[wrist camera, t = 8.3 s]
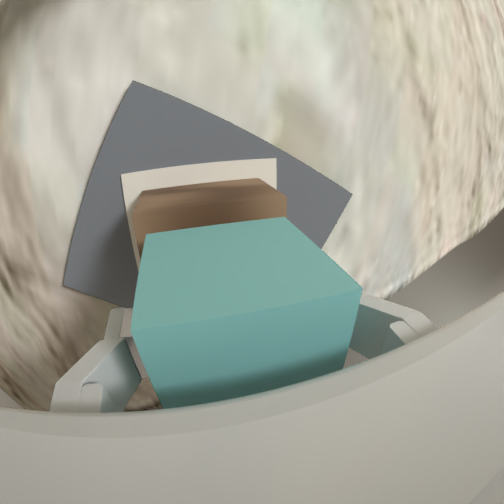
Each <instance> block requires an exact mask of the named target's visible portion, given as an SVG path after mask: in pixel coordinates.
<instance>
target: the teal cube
mask: <svg viewBox="0 0 504 504" xmlns="http://www.w3.org/2000/svg"><path fill="white" fill-rule="evenodd" d="M362 289H363V288H362V287H361V286H360V285H359V284H358V283H357V282H356V281H355V280H354V279H353V278H352V277H351V276H349V275H348V274H347V273H346V272H345V271H344V270H343V269H342V268H341V267H340V266H339V265H338V264H337V263H336V262H334V261H333V260H332V259H331V258H330V257H329V256H328V255H327V254H326V253H325V252H324V251H322V250H321V249H320V248H319V247H318V246H317V245H316V244H315V243H314V242H313V241H311V240H310V239H309V238H308V237H307V236H306V235H305V234H304V233H302V232H301V231H300V230H299V229H298V228H297V227H296V226H295V225H293V224H292V223H291V222H290V221H289V220H288V219H287V218H285V217H278V218H269V219H260V220H251V221H243V222H234V223H226V224H218V225H210V226H202V227H195V228H187V229H180V230H173V231H165V232H158V233H152V234H146V237H145V242H144V247H143V252H142V257H141V262H140V268H139V274H138V280H137V286H136V292H135V299H134V306H133V313H132V321H131V329H130V331H131V333H132V336H133V339H134V341H135V344H136V347H137V349H138V352H139V354H140V357H141V359H142V362H143V364H144V367H145V369H146V371H147V374H148V376H149V378H150V381H151V383H152V385H153V387H154V390H155V392H156V394H157V396H158V398H159V400H160V403H161V405H162V407H163V409H168V408H177V407H184V406H192V405H199V404H205V403H211V402H217V401H222V400H228V399H233V398H238V397H243V396H248V395H252V394H257V393H261V392H265V391H269V390H273V389H277V388H281V387H285V386H289V385H292V384H296V383H300V382H303V381H306V380H310V379H313V378H316V377H320V376H323V375H326V374H329V373H332V372H335V371H338V370H341V369H343V366H344V362H345V358H346V355H347V352H348V348H349V344H350V340H351V337H352V333H353V329H354V325H355V320H356V316H357V312H358V307H359V303H360V298H361V294H362Z"/></svg>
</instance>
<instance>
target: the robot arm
mask: <svg viewBox="0 0 504 504" xmlns="http://www.w3.org/2000/svg"><path fill="white" fill-rule="evenodd" d="M132 313H133V306H129V307H120V308H112V309H111V310H110V313H109V318H108V322H107V326H106V331H105V335H104V340H99V341H98V342H97V343H96V344H95V345H94V346H93V347H92V348H91V349H90V350H89V351H88V352H87V353H86V354H85V355H84V356H83V357H82V358H81V359H80V360H79V361H78V362H77V363H76V364H75V365H74V366H73V367H72V368H70V369H69V370H68V371H67V372H66V373H65V374H64V375H63V376H62V377H61V378H60V379H59V380H58V381H57V382H56V385H55V388H54V393H53V397H52V401H51V405H50V410H49V411H36V410H26V409H17V408H9V407H3V406H0V504H504V291H503V292H501V293H500V294H498V295H496V296H495V297H494V298H492V299H490V300H489V301H487V302H485V303H484V304H482V305H480V306H479V307H477V308H475V309H474V310H472V311H470V312H468V313H467V314H465V315H463V316H461V317H459V318H458V319H456V320H454V321H452V322H450V323H448V324H446V325H444V326H442V327H441V328H439V329H438V328H437V327H436V326H435V325H434V324H433V323H432V322H431V321H430V320H429V319H428V318H426V317H425V316H424V315H423V314H422V313H421V312H419V311H416V310H413V309H410V308H407V307H404V306H401V305H398V304H395V303H392V302H389V301H386V300H383V299H380V298H377V297H374V296H371V295H368V294H361V298H360V303H359V307H358V312H357V316H356V320H355V325H354V329H353V333H352V337H351V340H350V344H349V348H351V349H352V350H354V351H356V352H358V353H360V354H361V355H363V356H365V357H367V358H368V359H369V360H366V361H364V362H361V363H358V364H355V365H353V366H350V367H347V368H344V369H341V370H338V371H335V372H332V373H329V374H326V375H323V376H320V377H316V378H313V379H310V380H306V381H303V382H300V383H296V384H292V385H289V386H285V387H281V388H277V389H273V390H269V391H265V392H261V393H257V394H252V395H248V396H243V397H238V398H233V399H228V400H222V401H217V402H211V403H205V404H199V405H192V406H184V407H177V408H168V409H158V410H147V411H133V412H122V411H123V409H124V408H125V406H126V405H127V403H128V401H129V400H130V398H131V396H132V395H133V393H134V392H135V390H136V388H137V387H138V385H139V383H140V382H141V380H142V379H141V378H149V376H148V374H147V371H146V369H145V367H144V364H143V362H142V359H141V357H140V354H139V352H138V349H137V347H136V344H135V341H134V339H133V336H132V333H131V331H130V329H131V321H132Z"/></svg>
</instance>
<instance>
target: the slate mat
mask: <svg viewBox="0 0 504 504" xmlns="http://www.w3.org/2000/svg"><path fill="white" fill-rule="evenodd" d="M251 178H259V179H261V180H262V181H264V182H266V183H267V184H269V185H270V186H272V187H273V188H275V189H276V190H278V191H279V192H281V193H282V194H284V195H285V196H287V219H288V220H289V221H290V222H291V223H292V224H293V225H295V226H296V227H297V228H298V229H299V230H300V231H301V232H302V233H304V234H305V235H306V236H307V237H308V238H309V239H310V240H311V241H313V242H314V243H315V244H316V245H317V246H318V247H319V248H320V249H322V247H323V245H324V244H325V242H326V240H327V238H328V237H329V235H330V233H331V232H332V230H333V228H334V226H335V225H336V223H337V221H338V219H339V218H340V216H341V214H342V212H343V211H344V209H345V207H346V205H347V203H348V202H349V200H350V198H351V196H352V194H351V193H350V192H348V191H347V190H345V189H344V188H342V187H341V186H339V185H338V184H336V183H335V182H333V181H332V180H330V179H329V178H327V177H325V176H324V175H322V174H321V173H319V172H318V171H316V170H314V169H313V168H311V167H309V166H308V165H306V164H304V163H303V162H301V161H299V160H298V159H296V158H294V157H293V156H291V155H289V154H288V153H286V152H284V151H282V150H281V149H279V148H277V147H275V146H273V145H272V144H270V143H268V142H266V141H264V140H263V139H261V138H259V137H257V136H255V135H253V134H251V133H249V132H248V131H246V130H244V129H242V128H240V127H238V126H236V125H234V124H232V123H230V122H228V121H226V120H224V119H222V118H220V117H218V116H216V115H214V114H211V113H209V112H207V111H205V110H203V109H201V108H199V107H196V106H194V105H192V104H190V103H187V102H185V101H183V100H181V99H178V98H176V97H174V96H171V95H169V94H166V93H164V92H162V91H159V90H157V89H154V88H152V87H149V86H146V85H144V84H141V83H139V82H136V81H132V83H131V85H130V87H129V88H128V90H127V92H126V94H125V96H124V98H123V100H122V102H121V104H120V106H119V108H118V110H117V113H116V115H115V117H114V119H113V121H112V124H111V126H110V128H109V130H108V133H107V135H106V137H105V140H104V142H103V145H102V147H101V150H100V152H99V155H98V157H97V160H96V163H95V165H94V168H93V171H92V174H91V177H90V180H89V183H88V186H87V189H86V192H85V195H84V198H83V201H82V205H81V208H80V212H79V215H78V219H77V223H76V226H75V230H74V234H73V238H72V243H71V247H70V252H69V256H68V261H67V266H66V271H65V277H64V283H63V285H64V286H67V287H69V288H72V289H75V290H77V291H80V292H83V293H85V294H88V295H91V296H93V297H96V298H99V299H102V300H105V301H108V302H110V303H113V304H116V305H119V306H122V307H129V306H134V299H135V292H136V286H137V280H138V274H139V268H140V262H141V261H140V256H139V251H138V246H137V241H136V236H135V231H134V225H133V220H132V213H133V211H134V208H135V206H136V204H137V202H138V199H139V197H140V195H141V193H142V191H145V190H152V189H159V188H166V187H173V186H181V185H190V184H198V183H207V182H217V181H227V180H238V179H251Z"/></svg>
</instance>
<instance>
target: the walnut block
mask: <svg viewBox="0 0 504 504" xmlns="http://www.w3.org/2000/svg"><path fill="white" fill-rule="evenodd" d="M278 217H285V218H287V196H285V195H284V194H282V193H281V192H279V191H278V190H276V189H275V188H273V187H272V186H270V185H269V184H267V183H266V182H264V181H262V180H261V179H259V178H251V179H238V180H227V181H217V182H207V183H198V184H190V185H181V186H173V187H166V188H159V189H152V190H145V191H142V193H141V195H140V197H139V199H138V202H137V204H136V206H135V208H134V211H133V213H132V220H133V225H134V231H135V236H136V241H137V246H138V251H139V256H140V261H141V257H142V252H143V247H144V242H145V237H146V234H152V233H158V232H165V231H173V230H180V229H187V228H195V227H202V226H210V225H218V224H226V223H234V222H243V221H251V220H260V219H269V218H278Z"/></svg>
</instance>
